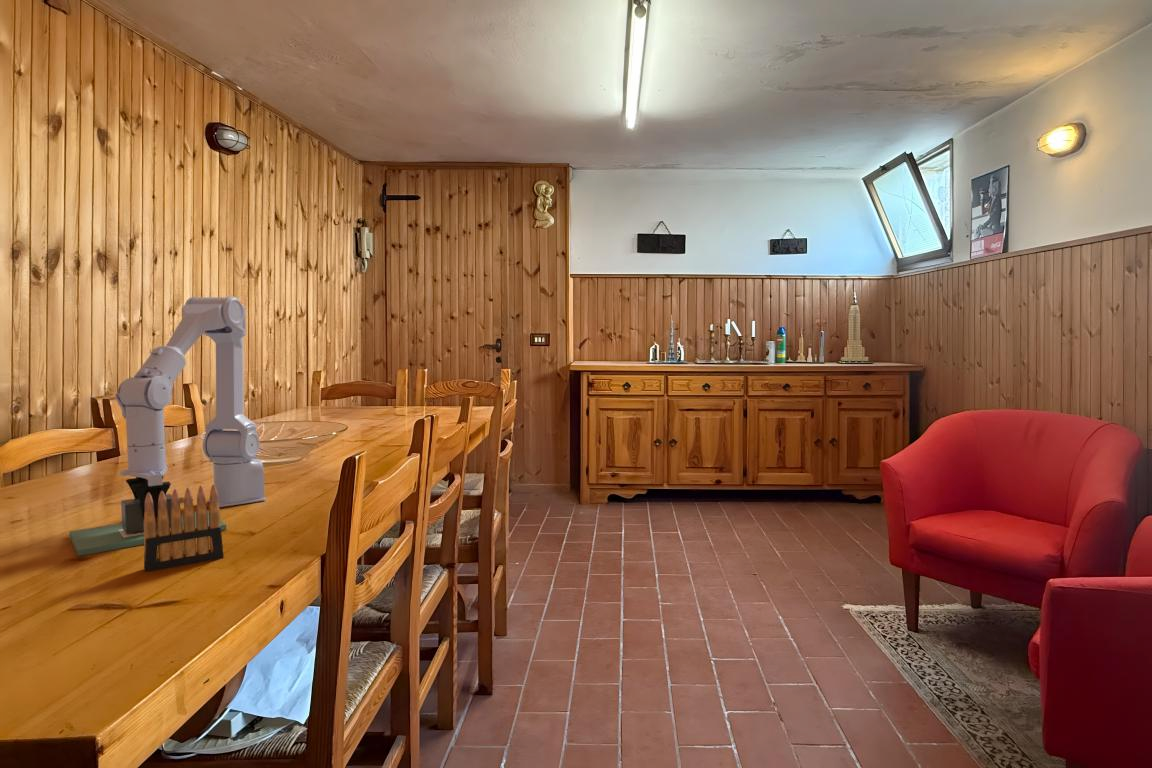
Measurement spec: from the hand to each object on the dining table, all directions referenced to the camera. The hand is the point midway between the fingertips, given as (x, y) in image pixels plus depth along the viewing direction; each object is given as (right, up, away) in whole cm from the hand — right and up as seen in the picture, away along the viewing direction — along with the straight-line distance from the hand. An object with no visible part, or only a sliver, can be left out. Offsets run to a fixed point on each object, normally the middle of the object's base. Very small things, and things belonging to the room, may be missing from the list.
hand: (149, 519), depth 120 cm
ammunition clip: (+15, -4, -15) cm, 22 cm away
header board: (-1, -3, +1) cm, 3 cm away
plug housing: (+1, -1, +1) cm, 2 cm away
